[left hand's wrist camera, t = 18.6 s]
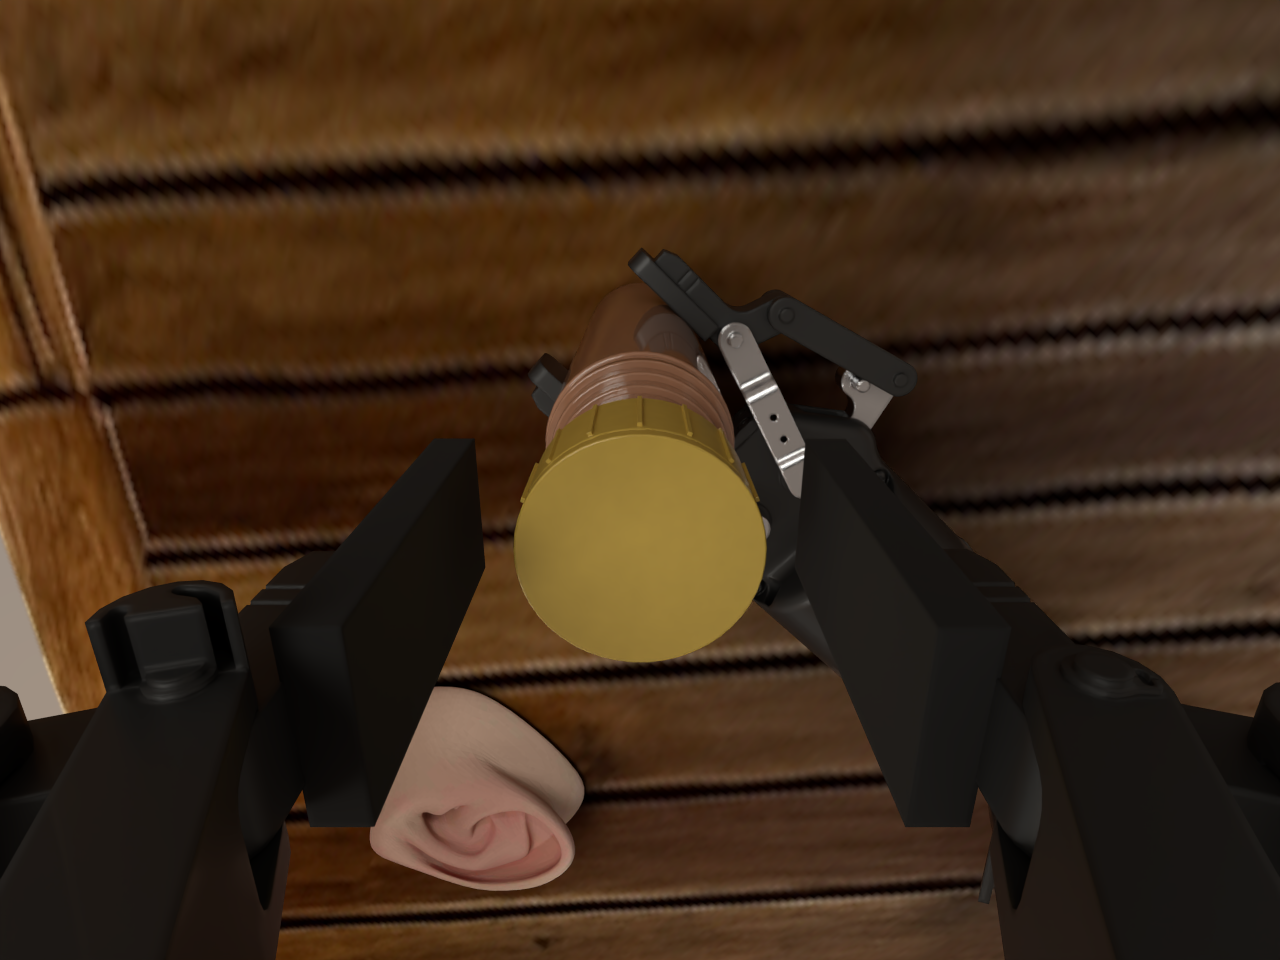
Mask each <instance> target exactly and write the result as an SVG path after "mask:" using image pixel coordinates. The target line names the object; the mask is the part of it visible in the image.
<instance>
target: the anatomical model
mask: <svg viewBox="0 0 1280 960" xmlns="http://www.w3.org/2000/svg"><path fill="white" fill-rule="evenodd" d="M583 798H584V785H583V782H582V780H581V778H580V776H579V774H578V773H577V771H576V770H575V769H574V768H573V766H572V765H571V764H570V763H569V761H568V760H567V759H566V758H565V757H564V756H563V755H562V754H561V753H560V752H559V751H558V750H557V749H556V748H555V747H554V746H553V745H552V744H551V743H550V742H548V741H547V740H546V739H545V738H544V737H543V736H542V735H541V734H539V733H538V732H537V731H536V730H535V729H533V728H532V727H531V726H530V725H529V724H527V723H526V722H525V721H524V720H522V719H521V718H520V717H518V716H517V715H516V714H514V713H513V712H512V711H510V710H509V709H507V708H506V707H504V706H502V705H501V704H499V703H498V702H496V701H494V700H492V699H491V698H489V697H487V696H485V695H483V694H480V693H478V692H475V691H472V690H468V689H464V688H457V687H434V689H433V691H432V693H431V696H430V698H429V700H428V703H427V705H426V707H425V710H424V712H423V715H422V717H421V719H420V722H419V724H418V726H417V729H416V731H415V733H414V736H413V738H412V740H411V743H410V745H409V747H408V750H407V752H406V754H405V757H404V759H403V761H402V764H401V766H400V768H399V771H398V773H397V775H396V778H395V780H394V782H393V785H392V787H391V790H390V792H389V794H388V797H387V799H386V801H385V804H384V806H383V808H382V811H381V813H380V815H379V818H378V820H377V822H376V825H375V827H371V830H370V842H371V846H372V848H373V849H374V851H375V852H376V853H377V854H378V855H380V856H381V857H383V858H385V859H388V860H390V861H393V862H396V863H398V864H401V865H404V866H407V867H409V868H412V869H415V870H418V871H421V872H424V873H426V874H429V875H432V876H435V877H438V878H440V879H443V880H446V881H450V882H453V883H456V884H459V885H463V886H467V887H471V888H476V889H483V890H519V889H527V888H532V887H536V886H539V885H542V884H545V883H547V882H549V881H551V880H553V879H555V878H556V877H558V876H560V875H561V874H562V873H563V872H564V871H565V870H567V868H568V867H569V866H570V865H571V863H572V861H573V859H574V855H575V845H574V840H573V837H572V835H571V832H570V830H569V828H568V827H567V825H566V823H567V822H568V821H569V820H570V819H571V818H572V817H573V816H574V814H575V813H576V812H577V810H578V809H579V807H580V805H581V803H582V801H583Z"/></svg>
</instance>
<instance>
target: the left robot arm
mask: <svg viewBox="0 0 1280 960" xmlns="http://www.w3.org/2000/svg"><path fill="white" fill-rule="evenodd" d="M484 569H485V558H484V546H483V534H482V522H481V511H480V499H479V487H478V475H477V463H476V451H475V440H474V439H434V440H433V441H432V442H431V443H430V444H429V445H428V447H427V448H426V449H425V450H424V451H423V452H422V453H421V455H420V456H419V457H418V458H417V459H416V460H415V461H414V463H413V464H412V465H411V466H410V467H409V468H408V469H407V470H406V472H405V473H404V474H403V475H402V476H401V477H400V478H399V480H398V481H397V482H396V483H395V484H394V485H393V486H392V488H391V489H390V490H389V491H388V492H387V493H386V494H385V496H384V497H383V498H382V499H381V500H380V501H379V502H378V503H377V505H376V506H375V507H374V508H373V509H372V510H371V511H370V513H369V514H368V515H367V516H366V517H365V518H364V519H363V521H362V522H361V523H360V524H359V525H358V526H357V527H356V529H355V530H354V531H353V532H352V533H351V534H350V535H349V536H348V538H347V539H346V540H345V541H344V542H343V543H342V544H341V546H340V547H339V548H338V549H337V550H336V551H313V552H311V553H309V554H307V555H305V556H304V557H302V558H300V559H298V560H296V561H294V562H293V563H291V564H289V565H287V566H285V567H284V568H283V569H282V570H281V571H280V572H279V573H278V574H277V575H276V576H275V577H274V578H273V579H272V580H271V581H270V582H269V583H268V584H267V585H266V589H262V590H261V591H260V592H259V593H258V594H257V595H256V596H255V597H254V598H253V599H252V600H251V605H246V606H245V607H244V608H243V609H242V611H241V612H240V613H239V614H238V611H237V606H236V602H235V598H234V593H233V590H231V589H230V588H228V587H227V586H225V585H224V584H222V583H217V582H211V581H204V580H198V581H180V582H173V583H169V584H164V585H159V586H154V587H149V588H147V589H144V590H141V591H138V592H135V593H132V594H129V595H127V596H124V597H121V598H120V599H118V600H116V601H114V602H112V603H110V604H108V605H106V606H105V607H103V608H101V609H99V610H98V611H97V612H96V613H95V614H94V615H93V616H92V617H90V618H89V619H88V620H87V621H86V622H85V625H86V628H87V631H88V634H89V638H90V641H91V644H92V647H93V650H94V654H95V657H96V660H97V663H98V666H99V670H100V673H101V676H102V679H103V682H104V686H105V689H106V694H105V696H104V698H103V699H102V701H101V703H100V705H99V706H98V708H94V709H89V710H83V711H78V712H73V713H67V714H62V715H57V716H51V717H46V718H41V719H35V720H30V721H27V719H26V716H25V713H24V710H23V708H22V705H21V702H20V700H19V697H18V694H17V693H15V692H14V691H12V690H10V689H9V688H7V687H6V686H0V960H275V958H276V951H277V944H278V937H279V930H280V923H281V916H282V909H283V902H284V895H285V888H286V881H287V874H288V867H289V860H290V853H291V851H290V844H289V837H288V833H287V828H286V824H285V819H286V817H287V815H288V814H289V812H290V810H291V808H292V807H293V805H294V803H295V801H296V800H297V798H298V796H299V794H300V793H301V791H302V790H303V794H304V799H305V804H306V809H307V813H308V818H309V823H310V827H375V825H376V822H377V820H378V818H379V815H380V813H381V811H382V808H383V806H384V804H385V801H386V799H387V797H388V794H389V792H390V790H391V787H392V785H393V782H394V780H395V778H396V775H397V773H398V771H399V768H400V766H401V764H402V761H403V759H404V757H405V754H406V752H407V750H408V747H409V745H410V743H411V740H412V738H413V736H414V733H415V731H416V729H417V726H418V724H419V722H420V719H421V717H422V715H423V712H424V710H425V707H426V705H427V703H428V700H429V698H430V696H431V693H432V691H433V689H434V686H435V684H436V682H437V679H438V677H439V675H440V672H441V670H442V668H443V665H444V663H445V661H446V658H447V656H448V654H449V651H450V649H451V647H452V644H453V642H454V640H455V637H456V635H457V632H458V630H459V628H460V625H461V623H462V621H463V618H464V616H465V614H466V611H467V609H468V607H469V604H470V602H471V600H472V597H473V595H474V593H475V590H476V588H477V586H478V583H479V581H480V579H481V576H482V574H483V572H484ZM795 569H796V572H797V574H798V576H799V579H800V581H801V583H802V586H803V588H804V590H805V593H806V595H807V597H808V600H809V602H810V604H811V607H812V609H813V611H814V614H815V616H816V618H817V621H818V623H819V625H820V628H821V630H822V632H823V635H824V637H825V639H826V642H827V644H828V647H829V649H830V651H831V654H832V656H833V658H834V661H835V663H836V665H837V668H838V670H839V672H840V675H841V677H842V679H843V682H844V684H845V686H846V689H847V691H848V693H849V696H850V698H851V700H852V703H853V705H854V707H855V710H856V712H857V714H858V717H859V719H860V722H861V724H862V726H863V729H864V731H865V733H866V736H867V738H868V740H869V743H870V745H871V747H872V750H873V752H874V754H875V757H876V759H877V761H878V764H879V766H880V768H881V771H882V773H883V775H884V778H885V780H886V782H887V785H888V787H889V789H890V792H891V794H892V797H893V799H894V801H895V804H896V806H897V808H898V811H899V813H900V815H901V818H902V820H903V822H904V825H905V827H970V823H971V818H972V813H973V809H974V804H975V799H976V794H977V790H978V787H979V789H980V791H981V792H982V794H983V796H984V798H985V799H986V801H987V803H988V804H989V806H990V808H991V810H992V811H993V813H994V815H995V816H996V819H995V824H994V828H993V833H992V837H991V842H990V846H989V850H988V855H987V859H986V864H985V868H984V873H983V877H982V882H981V886H980V893H979V900H978V901H979V902H983V903H986V904H989V901H990V897H991V893H992V888H994V887H995V893H996V900H997V907H998V914H999V921H1000V928H1001V935H1002V942H1003V949H1004V956H1005V960H1280V683H1275V684H1273V685H1272V686H1270V687H1268V688H1267V689H1265V690H1264V691H1263V694H1262V697H1261V700H1260V702H1259V705H1258V708H1257V710H1256V713H1255V716H1254V718H1253V717H1247V716H1242V715H1237V714H1231V713H1226V712H1221V711H1215V710H1210V709H1205V708H1199V707H1194V706H1189V705H1184V704H1181V703H1180V702H1179V700H1178V698H1177V696H1176V694H1175V693H1174V691H1173V690H1172V689H1171V688H1170V687H1169V686H1168V684H1167V683H1166V682H1165V681H1164V680H1163V679H1162V678H1161V677H1160V676H1159V675H1157V674H1156V673H1154V672H1153V671H1151V670H1150V669H1148V668H1147V667H1145V666H1143V665H1142V664H1140V663H1139V662H1136V661H1134V660H1132V659H1129V658H1127V657H1124V656H1122V655H1120V654H1117V653H1115V652H1112V651H1108V650H1104V649H1100V648H1096V647H1091V646H1087V645H1076V644H1075V643H1074V642H1073V641H1072V640H1071V639H1070V638H1069V637H1068V636H1067V635H1066V634H1065V633H1064V632H1063V631H1062V630H1061V629H1060V628H1059V627H1058V626H1057V625H1056V624H1055V623H1054V622H1053V621H1052V620H1051V619H1050V618H1049V617H1048V616H1047V615H1046V614H1045V613H1044V612H1043V611H1042V610H1041V609H1040V608H1039V607H1038V606H1037V605H1036V604H1035V603H1034V602H1030V598H1029V597H1028V596H1027V595H1026V594H1025V593H1024V592H1023V591H1022V590H1021V589H1020V588H1019V587H1015V583H1014V582H1013V581H1012V580H1011V579H1010V578H1009V577H1008V576H1007V575H1006V574H1005V573H1004V572H1003V571H1002V570H1001V569H1000V568H999V567H998V566H997V565H996V564H994V563H993V562H991V561H989V560H987V559H985V558H983V557H981V556H980V555H978V554H976V553H974V552H972V551H970V550H968V549H942V548H941V547H940V546H939V544H938V543H937V542H936V541H935V540H934V539H933V538H932V536H931V535H930V534H929V533H928V532H927V531H926V530H925V529H924V527H923V526H922V525H921V524H920V523H919V522H918V521H917V519H916V518H915V517H914V516H913V515H912V514H911V513H910V511H909V510H908V509H907V508H906V507H905V506H904V505H903V503H902V502H901V501H900V500H899V499H898V498H897V497H896V495H895V494H894V493H893V492H892V491H891V490H890V489H889V488H888V486H887V485H886V484H885V483H884V482H883V481H882V480H881V478H880V477H879V476H878V475H877V474H876V473H875V472H874V470H873V469H872V468H871V467H870V466H869V465H868V464H867V462H866V461H865V460H864V459H863V458H862V457H861V456H860V455H859V453H858V452H857V451H856V450H855V449H854V448H853V447H852V445H851V444H850V443H849V442H848V441H847V440H846V439H806V440H805V452H804V463H803V475H802V487H801V499H800V511H799V522H798V534H797V546H796V558H795Z"/></svg>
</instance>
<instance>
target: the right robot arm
mask: <svg viewBox="0 0 1280 960" xmlns="http://www.w3.org/2000/svg"><path fill="white" fill-rule="evenodd" d="M628 266H629V267H630V268H631V269H632V270H633V271H634V272H635V273H636V274H637V275H638V276H639V277H640V278H641V279H642V280H643V281H644V282H645V283H646V284H647V285H648V286H649V287H650V288H651V289H652V290H653V291H654V292H655V293H656V294H657V295H658V296H659V297H660V298H661V299H662V300H663V301H664V302H665V303H666V304H667V305H668V306H669V307H670V308H671V309H672V310H673V311H674V312H675V313H676V314H677V315H678V316H679V317H680V318H681V319H683V320H684V321H685V322H686V323H687V324H688V325H689V326H690V327H691V329H692V330H693V331H694V332H695V333H696V334H698V335H699V336H700V337H701V338H702V339H703V340H704V341H706V340H707V339H708V338H710V339H711V340H712V341H713V342H714V343H715V344H716V345H717V346H718V347H719V349H720V351H721V353H722V355H723V357H724V359H725V361H726V363H727V365H728V367H729V369H730V371H731V373H732V375H733V378H734V380H735V382H736V384H737V386H738V388H739V390H740V392H741V394H742V396H743V398H744V400H745V402H746V404H747V405H744V406H743V407H742V408H741V409H740V410H739V411H738V412H737V413H736V414H735V415H734V416H733V417H732V423H733V427H734V437H735V445H734V450H735V452H736V453H737V455H738V457H739V459H740V462H741V463H745V465H746V467H747V470H748V472H749V475H750V477H751V480H752V482H753V485H754V487H755V490H756V492H757V494H758V497H759V500H760V501H759V502H757V505H758V508H759V510H760V513H761V515H762V518H763V523H764V527H765V531H766V542H767V553H766V564H765V569H764V573H763V577H762V580H761V583H760V586H759V588H758V591H757V593H756V595H755V597H754V598H753V600H754V601H755V602H756V603H757V604H758V605H759V606H760V607H762V608H763V609H764V610H765V611H766V612H767V613H768V614H770V615H771V616H772V617H773V618H774V619H775V620H776V621H778V622H779V623H780V624H781V625H782V626H783V627H784V628H785V629H787V630H788V631H789V632H790V633H791V634H792V635H793V636H795V637H796V638H797V639H798V640H799V641H800V642H801V643H803V644H804V645H805V646H806V647H807V648H808V649H809V650H810V651H812V652H813V653H814V654H815V655H816V656H817V657H818V658H819V659H821V660H822V661H823V662H824V663H825V664H826V665H828V666H829V667H830V668H831V669H832V670H833V671H834V672H835V673H837V674H838V675H839V676H840V677H841V675H840V672H839V670H838V668H837V665H836V663H835V661H834V658H833V656H832V654H831V651H830V649H829V647H828V644H827V642H826V639H825V637H824V635H823V632H822V630H821V628H820V625H819V623H818V621H817V618H816V616H815V614H814V611H813V609H812V607H811V604H810V602H809V600H808V597H807V595H806V593H805V590H804V588H803V586H802V583H801V581H800V579H799V576H798V574H797V572H796V569H795V558H796V546H797V534H798V522H799V511H800V499H801V487H802V475H803V463H804V452H805V440H806V439H846V440H847V441H848V442H849V443H850V444H851V445H852V447H853V448H854V449H855V450H856V451H857V452H858V453H859V455H860V456H861V457H862V458H863V459H864V460H865V461H866V462H867V464H868V465H869V466H870V467H871V468H872V469H873V470H874V472H875V473H876V474H877V475H878V476H879V477H880V478H881V480H882V481H883V482H884V483H885V484H886V485H887V486H888V488H889V489H890V490H891V491H892V492H893V493H894V494H895V495H896V497H897V498H898V499H899V500H900V501H901V502H902V503H903V505H904V506H905V507H906V508H907V509H908V510H909V511H910V513H911V514H912V515H913V516H914V517H915V518H916V519H917V521H918V522H919V523H920V524H921V525H922V526H923V527H924V529H925V530H926V531H927V532H928V533H929V534H930V535H931V536H932V538H933V539H934V540H935V541H936V542H937V543H938V544H939V546H940V547H941V548H942V549H968V550H970V551H972V552H973V550H972V549H971V548H970V546H969V545H968V544H967V543H966V542H965V541H964V540H963V539H962V538H960V537H959V536H957V535H956V534H955V533H954V532H953V531H952V530H951V529H950V528H949V527H948V526H947V525H946V524H945V523H944V522H943V521H942V520H941V519H940V518H939V517H938V516H937V515H936V514H935V513H934V512H933V511H932V510H931V509H930V508H929V507H928V506H927V505H926V504H925V503H924V502H923V501H922V500H921V499H920V498H919V497H918V496H917V495H916V494H915V493H914V492H913V491H912V490H911V489H910V488H909V487H908V486H907V485H906V483H905V482H904V481H903V480H902V479H901V478H900V477H899V476H898V475H897V474H896V473H895V472H894V471H893V470H892V469H891V468H890V467H889V466H888V465H887V464H886V463H885V462H884V461H883V460H882V459H881V457H880V455H879V452H878V449H877V445H876V439H875V436H874V434H873V432H872V430H871V428H872V427H873V425H874V424H875V422H876V421H877V419H878V418H879V416H880V415H881V413H882V412H883V410H884V409H885V407H886V406H887V405H888V403H889V402H890V400H891V399H892V397H893V396H904V395H906V394H908V393H909V392H911V391H912V390H913V388H914V387H915V385H916V383H917V373H916V370H915V369H914V368H913V367H912V366H911V365H909V364H908V363H906V362H904V361H902V360H901V359H899V358H897V357H896V356H894V355H892V354H891V353H889V352H887V351H886V350H884V349H882V348H880V347H879V346H877V345H875V344H873V343H872V342H870V341H868V340H866V339H865V338H863V337H861V336H859V335H858V334H856V333H854V332H852V331H851V330H849V329H847V328H845V327H844V326H842V325H840V324H838V323H837V322H835V321H833V320H831V319H830V318H828V317H826V316H825V315H823V314H821V313H819V312H818V311H816V310H814V309H812V308H811V307H809V306H807V305H805V304H804V303H802V302H800V301H798V300H797V299H795V298H793V297H791V296H790V295H788V294H786V293H784V292H783V291H780V290H770V291H768V292H766V293H765V294H764V295H763V296H762V297H761V298H759V299H757V300H755V301H753V302H751V303H749V304H747V305H744V306H739V307H735V306H730V305H728V304H726V303H725V302H724V301H722V300H721V299H720V298H719V297H718V296H717V295H716V293H715V292H714V291H713V290H712V289H711V288H710V287H709V286H708V285H707V284H706V283H705V282H704V281H703V280H702V279H701V278H700V277H699V276H698V275H697V274H696V273H695V272H694V271H693V270H692V269H691V268H690V267H689V266H688V265H687V264H686V263H685V262H684V261H683V260H682V259H681V258H680V257H679V256H678V255H677V254H674V253H672V252H670V251H667V250H665V249H663V250H662V251H661V252H660V253H659V254H658V255H657V256H656V257H655V259H653V258H652V257H651V256H650V255H649V254H648V253H647V252H646V251H645V250H644V249H643V248H641V249H640V250H639V251H638V252H637V253H636V254H635V255H634V256H633V257H632V259H631V260H630V261H629V262H628ZM780 333H782V334H784V335H785V336H787V337H789V338H791V339H792V340H794V341H796V342H798V343H800V344H801V345H803V346H805V347H807V348H808V349H810V350H812V351H814V352H816V353H817V354H819V355H821V356H823V357H824V358H826V359H828V360H830V361H832V362H833V363H835V364H837V365H839V368H838V369H837V371H836V374H835V381H836V384H837V385H838V387H839V388H840V389H841V390H842V391H844V392H845V394H846V395H847V399H848V404H847V408H846V410H845V411H841V410H834V409H826V408H819V407H811V406H804V405H796V404H789V403H786V402H785V400H784V398H783V396H782V394H781V392H780V390H779V388H778V386H777V384H776V382H775V380H774V378H773V376H772V375H771V373H770V371H769V368H768V366H767V364H766V362H765V360H764V358H763V356H762V354H761V352H760V349H759V347H758V344H760V343H762V342H764V341H766V340H768V339H770V338H772V337H774V336H776V335H778V334H780ZM567 373H568V370H567V369H566V368H564V367H563V366H562V365H561V364H560V363H559V362H558V361H557V360H556V359H554V358H553V357H552V356H550V355H549V354H547V353H545V354H544V355H543V356H542V357H541V358H540V359H539V360H538V361H537V362H536V363H535V365H534V366H533V367H532V368H531V370H530V371H529V373H528V376H529V378H530V379H531V381H532V382H533V383H534V384H535V385H536V388H535V390H534V391H533V393H532V397H533V399H534V401H535V403H536V405H537V407H538V408H539V409H540V410H541V411H542V412H543V413H544V414H545V415H547V416H548V417H549V415H550V413H551V410H552V408H553V405H554V403H555V400H556V398H557V396H558V393H559V391H560V389H561V386H562V384H563V382H564V380H565V377H566V375H567ZM841 678H842V677H841ZM988 808H989V815H990V822H991V827H992V831H993V828H994V824H995V819H996V816H995V815H994V813H993V811H992V810H991V808H990V806H989V804H988Z"/></svg>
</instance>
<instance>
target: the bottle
mask: <svg viewBox="0 0 1280 960" xmlns="http://www.w3.org/2000/svg"><path fill="white" fill-rule="evenodd" d="M638 396H642V398H649V399H657V400H663V401H667V402H671V403H675V404H678V405H680V406H682V404H685V405H687V408H688V409H690V410H692V411H694V412H695V413H697V414H699V415H701V416H703V417H704V418H705V419H707V420H708V421H709V422H711V423H712V424H713V425H714V426H715V427H716V428H717V429H719V428H720V427H721V428H722V429H723V431H724V434H725V436H726V438H727V440H728V441H729V442H730V444H731V445H732V446H733V448H734V445H735V437H734V427H733V423H732V418H731V415H730V412H729V410H728V407H727V404H726V402H725V400H724V397H723V395H722V393H721V390H720V388H719V386H718V384H717V381H716V379H715V377H714V374H713V372H712V370H711V367H710V365H709V363H708V360H707V358H706V356H705V354H704V351H703V349H702V347H701V344H700V342H699V340H698V337H697V335H696V333H695V332H694V331H693V330H692V329H691V327H690V326H689V325H688V324H687V323H686V322H685V321H684V320H683V319H681V318H680V317H679V316H678V315H677V314H676V313H675V312H674V311H673V310H672V309H671V308H670V307H669V306H668V305H667V304H666V303H665V302H664V301H663V300H662V299H661V298H660V297H659V296H658V295H657V294H656V293H655V292H654V291H653V290H652V289H651V288H650V287H649V286H648V285H647V284H646V283H634V284H628V285H625V286H622V287H620V288H617V289H615V290H614V291H612V292H610V293H609V294H608V295H607V296H605V298H604V299H603V300H602V301H601V302H600V303H599V304H598V306H597V307H596V309H595V311H594V313H593V315H592V317H591V320H590V322H589V324H588V326H587V329H586V331H585V333H584V336H583V338H582V340H581V343H580V345H579V347H578V350H577V352H576V354H575V356H574V359H573V361H572V363H571V366H570V368H569V370H568V373H567V375H566V377H565V380H564V382H563V384H562V386H561V389H560V391H559V393H558V396H557V398H556V400H555V403H554V405H553V408H552V410H551V413H550V415H549V419H548V424H547V428H546V448H547V447H548V445H549V444H550V443H551V441H552V440H553V439H554V436H555V434H556V431H557V430H558V429H559V428H560V429H563V428H564V427H565V426H566V425H567V424H568V423H570V422H571V421H572V420H574V419H575V418H576V417H578V416H580V415H581V414H583V413H585V412H587V411H588V410H590V409H592V408H593V405H595V404H597V405H598V406H600V405H602V404H606V403H609V402H613V401H617V400H624V399H631V398H638Z"/></svg>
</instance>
